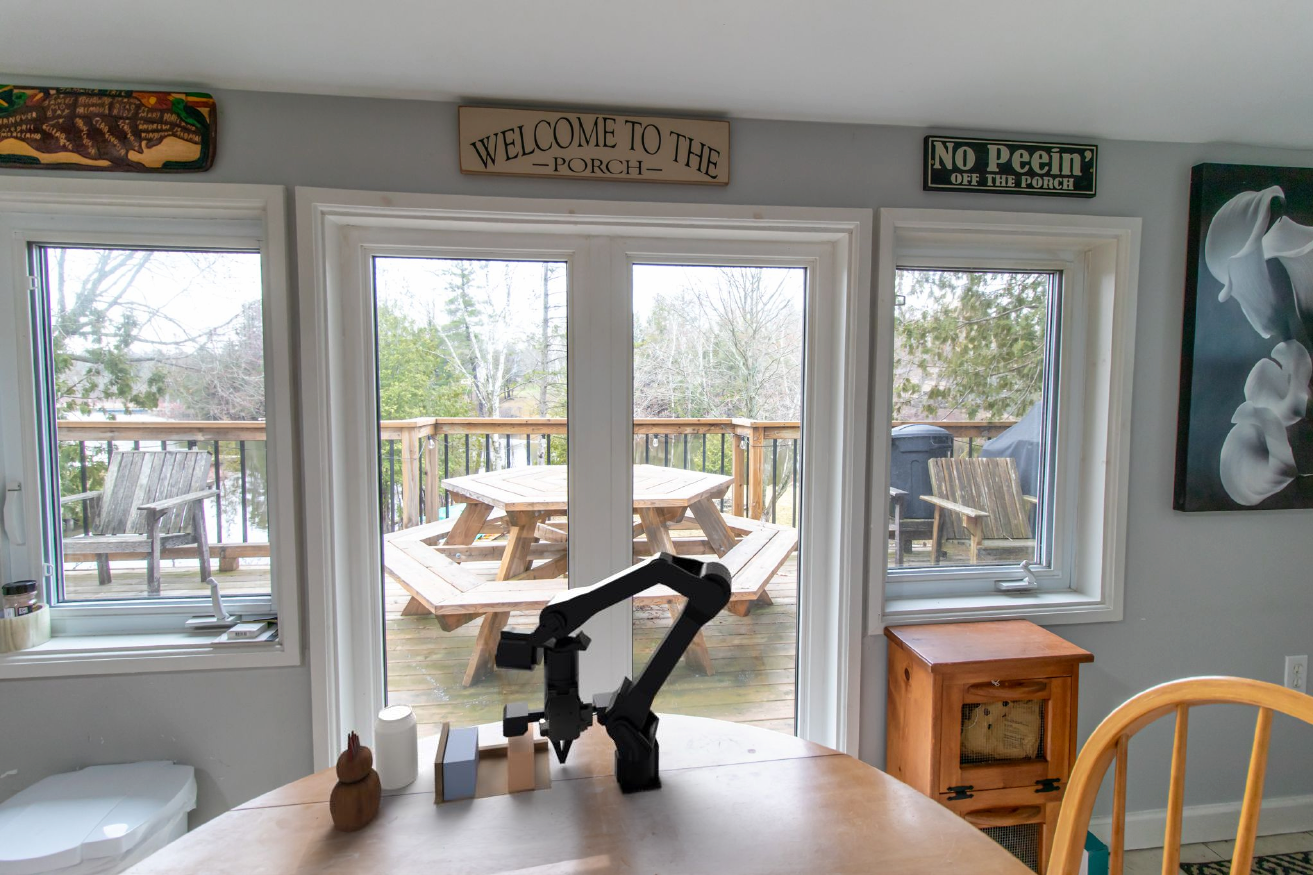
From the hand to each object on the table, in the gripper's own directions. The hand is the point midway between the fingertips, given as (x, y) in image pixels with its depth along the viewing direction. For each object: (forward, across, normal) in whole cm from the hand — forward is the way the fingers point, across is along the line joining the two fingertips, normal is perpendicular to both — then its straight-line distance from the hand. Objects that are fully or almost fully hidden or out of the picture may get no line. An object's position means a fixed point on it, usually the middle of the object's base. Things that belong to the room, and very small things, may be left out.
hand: (562, 762), depth 100 cm
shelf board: (+2, -11, 0) cm, 11 cm away
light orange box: (+1, -7, 0) cm, 7 cm away
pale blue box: (+1, -16, 0) cm, 16 cm away
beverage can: (+2, -26, +3) cm, 26 cm away
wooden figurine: (+2, -30, -6) cm, 31 cm away
